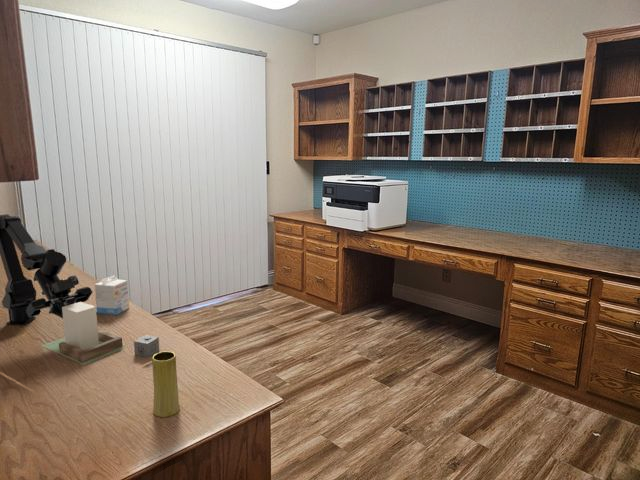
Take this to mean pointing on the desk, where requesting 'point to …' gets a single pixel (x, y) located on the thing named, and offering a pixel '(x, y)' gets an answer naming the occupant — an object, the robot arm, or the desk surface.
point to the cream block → (80, 325)
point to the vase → (165, 384)
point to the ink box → (111, 295)
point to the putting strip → (55, 347)
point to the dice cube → (146, 345)
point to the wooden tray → (85, 355)
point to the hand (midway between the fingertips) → (73, 322)
